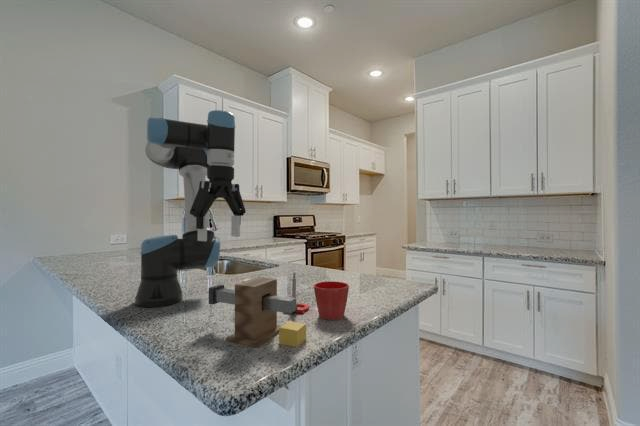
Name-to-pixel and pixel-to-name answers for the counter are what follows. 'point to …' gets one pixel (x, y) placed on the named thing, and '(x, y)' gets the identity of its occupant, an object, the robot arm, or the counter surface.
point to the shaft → (268, 301)
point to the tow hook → (300, 310)
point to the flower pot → (331, 299)
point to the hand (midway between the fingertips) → (219, 238)
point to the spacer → (292, 333)
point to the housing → (254, 312)
